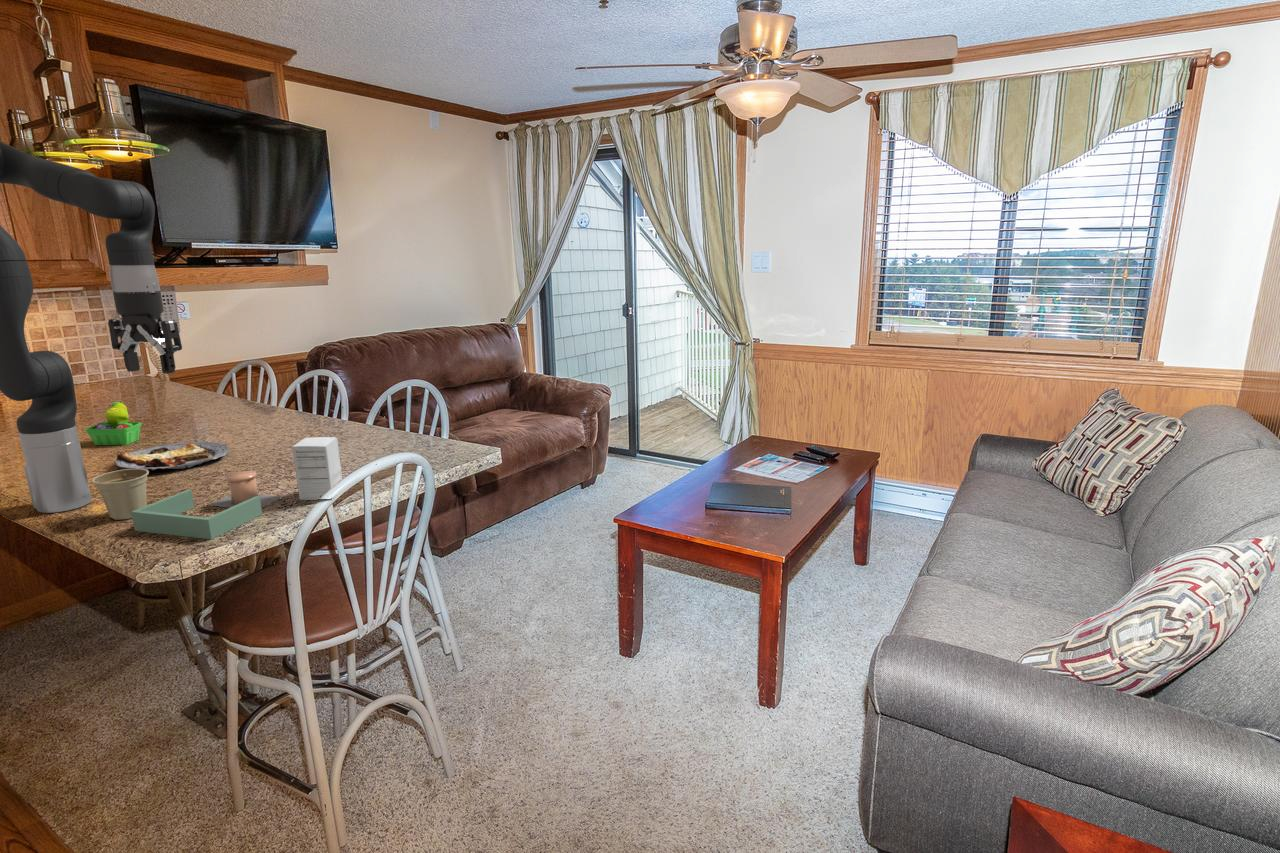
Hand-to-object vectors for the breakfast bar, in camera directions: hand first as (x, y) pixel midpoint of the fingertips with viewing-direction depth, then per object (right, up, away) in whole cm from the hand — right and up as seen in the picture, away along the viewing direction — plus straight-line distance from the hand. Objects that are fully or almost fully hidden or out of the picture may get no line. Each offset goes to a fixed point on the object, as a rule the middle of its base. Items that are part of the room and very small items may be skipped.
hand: (151, 372), depth 135 cm
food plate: (-25, -20, +43) cm, 53 cm away
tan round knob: (+11, -27, +14) cm, 32 cm away
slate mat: (+11, -27, +14) cm, 33 cm away
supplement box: (+25, -27, +19) cm, 41 cm away
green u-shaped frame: (+8, -30, +3) cm, 32 cm away
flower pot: (-10, -30, +7) cm, 32 cm away
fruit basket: (-53, -16, +60) cm, 81 cm away
